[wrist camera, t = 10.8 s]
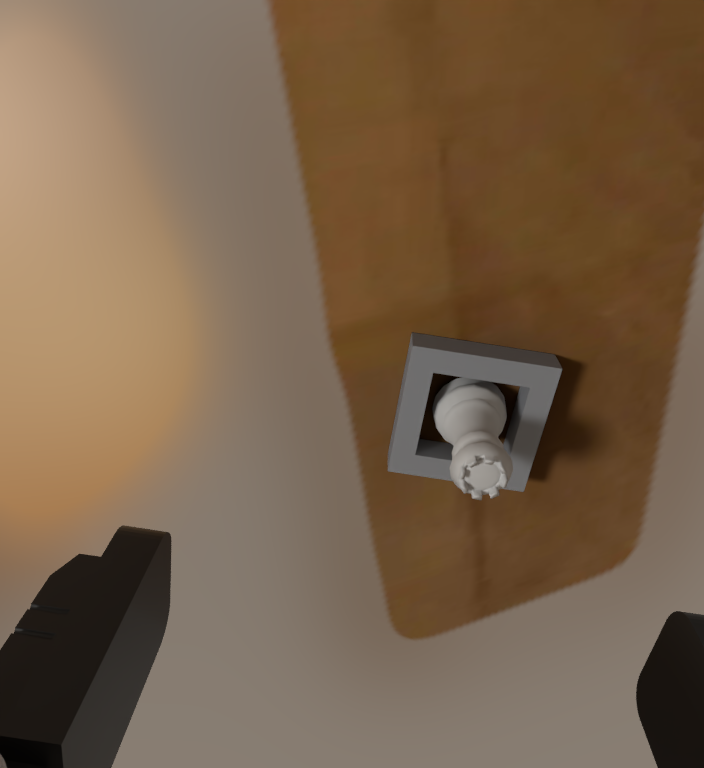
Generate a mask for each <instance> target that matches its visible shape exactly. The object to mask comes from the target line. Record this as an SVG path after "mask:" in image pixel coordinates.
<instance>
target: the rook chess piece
mask: <svg viewBox="0 0 704 768" xmlns="http://www.w3.org/2000/svg"><path fill="white" fill-rule="evenodd" d="M432 411H433V417H434V421H435V425H436V428H437V430H438V431H439V432H440V434H441V435H442V437H443V438H444V439H445V440H446V441H448V442H449V443H451V444H452V445H453V446H454V447H453V450H452V462H451V465H450V468H449V469H450V475H451V479H452V480H453V482H454V483H455V484H456V486H457V487H458V488H460V489H461V490H462V491H463V492H464V494H465V493H470V494H471V495H472V499H478V500H482V495H484V494H489V495H490V497H491V499H492V498H494V497H496V496H498V495H500V494H499V489H501V488H502V487H503V488H506V486H507V484H508V481H509V480H510V478H511V475H512V472H513V464H512V459H511V457H510V456H509V455H508V453H507V452H506V450H504V446H503V444H502V443H501V441H500V440H499V438H498V436H499V435H500V434H501V432H502V431H503V428H504V425H505V422H506V419H507V413H506V405H505V397H504V396H503V394H502V393H501V391H500V390H499V388H498V387H497V386H496V385H494V384H493V383H491V382H490V381H483V380H477V379H470V378H464V377H462V378H457V379H455V380H453V381H451V382H449V383H448V384H446V385H444V386H443V387H442V389H441V390H440V391H439V392H438V394H437V395H436V396H435V399H434V403H433V407H432Z"/></svg>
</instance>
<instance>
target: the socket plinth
mask: <svg viewBox="0 0 704 768" xmlns="http://www.w3.org/2000/svg"><path fill="white" fill-rule="evenodd" d="M561 372H562V367H561V365H560V363H559V361H558V359H557V358H556V356H555V354H548V353H542V352H535V351H529V350H523V349H516V348H510V347H503V346H497V345H490V344H484V343H477V342H471V341H464V340H458V339H451V338H445V337H438V336H432V335H425V334H419V333H413V332H412V334H411V339H410V344H409V350H408V355H407V360H406V365H405V370H404V375H403V380H402V385H401V390H400V395H399V401H398V406H397V411H396V416H395V421H394V426H393V431H392V436H391V441H390V446H389V451H388V471H390V472H397V473H403V474H410V475H416V476H423V477H430V478H436V479H443V480H449V481H453V480H452V479H451V475H450V469H449V468H450V465H451V462H452V450H453V447H454V446H453V445H452V444H450V443H444V442H437V441H431V440H424V439H419V435H420V431H421V426H422V422H423V417H424V413H425V408H426V403H427V399H428V394H429V390H430V385H431V380H432V376H433V373H438V374H444V375H451V376H457V377H464V378H470V379H477V380H483V381H490V382H496V383H503V384H509V385H516V386H520V389H519V392H518V396H517V399H516V403H515V406H514V410H513V413H512V417H511V420H510V424H509V427H508V431H507V434H506V438H505V441H504V444H503V446H504V450H506V452H507V453H508V455H509V456H510V457H511V459H512V464H513V472H512V475H511V478H510V480H509V481H508V484H507V486H506V488H503V487H502V489H508V490H515V491H521V492H524V489H525V486H526V483H527V480H528V477H529V473H530V470H531V467H532V464H533V461H534V458H535V454H536V451H537V448H538V445H539V442H540V439H541V435H542V432H543V429H544V426H545V423H546V420H547V416H548V413H549V410H550V407H551V404H552V401H553V397H554V394H555V391H556V388H557V385H558V382H559V379H560V375H561Z"/></svg>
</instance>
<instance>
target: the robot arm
mask: <svg viewBox="0 0 704 768" xmlns="http://www.w3.org/2000/svg"><path fill="white" fill-rule="evenodd" d="M170 581H171V536H170V533H168V532H162V531H155V530H150V529H142V528H136V527H129V526H121V527H120V528H119V529H118V530H117V532H116V533H115V534H114V536H113V538H112V540H111V541H110V543H109V545H108V546H107V548H106V550H105V551H104V553H103V555H102V556H101V557H98V556H91V555H84V554H79V555H77V556H76V557H75V558H73V559H72V560H71V561H69V562H68V563H66V564H65V565H64V566H63V567H61V568H60V569H58V570H57V571H56V572H54V573H53V574H52V575H50V577H49V578H48V580H47V581H46V582H45V584H44V586H43V587H42V589H41V590H40V591H39V593H38V594H37V596H36V597H35V599H34V601H33V602H32V603H31V608H30V610H27V611H26V612H25V614H24V615H23V617H22V618H21V620H20V621H19V623H18V624H17V626H16V627H15V632H14V634H11V635H10V636H9V638H8V639H7V641H6V642H5V644H4V645H3V647H2V648H1V650H0V768H111V767H112V764H113V762H114V759H115V757H116V754H117V752H118V749H119V747H120V744H121V742H122V739H123V737H124V735H125V732H126V730H127V727H128V725H129V722H130V720H131V717H132V715H133V712H134V709H135V707H136V705H137V702H138V700H139V697H140V695H141V692H142V690H143V687H144V685H145V682H146V680H147V677H148V675H149V672H150V670H151V667H152V665H153V663H154V660H155V657H156V655H157V652H158V650H159V648H160V645H161V642H162V639H163V636H164V633H165V629H166V625H167V620H168V615H169V608H170ZM636 700H637V708H638V714H639V717H640V721H641V723H642V726H643V729H644V731H645V734H646V737H647V739H648V742H649V745H650V748H651V750H652V753H653V756H654V758H655V761H656V764H657V766H658V768H704V615H700V614H693V613H686V612H680V611H676V612H673V613H672V614H671V615H670V616H669V617H668V619H667V620H666V622H665V624H664V626H663V628H662V630H661V633H660V635H659V637H658V639H657V641H656V643H655V645H654V647H653V649H652V651H651V653H650V655H649V657H648V659H647V661H646V663H645V666H644V667H643V669H642V671H641V673H640V676H639V679H638V683H637V692H636Z"/></svg>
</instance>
